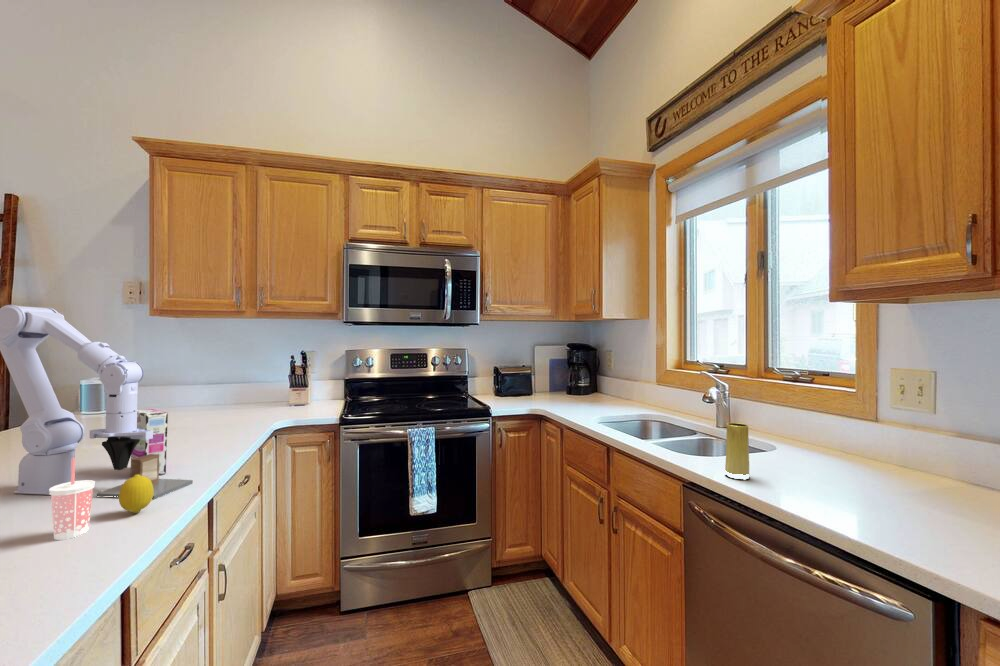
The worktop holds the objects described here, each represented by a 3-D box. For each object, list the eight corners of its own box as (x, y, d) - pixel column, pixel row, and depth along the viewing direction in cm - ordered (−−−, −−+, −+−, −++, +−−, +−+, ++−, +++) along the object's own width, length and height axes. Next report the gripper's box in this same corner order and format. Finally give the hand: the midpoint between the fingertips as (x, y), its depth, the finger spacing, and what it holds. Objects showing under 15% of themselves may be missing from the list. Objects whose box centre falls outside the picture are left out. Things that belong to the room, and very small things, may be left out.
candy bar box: (167, 473, 116) (168, 412, 117) (144, 478, 112) (145, 414, 113) (152, 466, 123) (153, 407, 123) (129, 470, 119) (131, 410, 119)
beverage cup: (91, 524, 85) (92, 451, 85) (97, 533, 81) (98, 457, 81) (46, 535, 80) (47, 458, 80) (50, 545, 76) (51, 464, 77)
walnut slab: (130, 489, 102) (131, 459, 102) (149, 482, 107) (149, 454, 107) (140, 490, 102) (140, 460, 102) (158, 483, 107) (159, 454, 107)
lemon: (133, 520, 87) (134, 479, 87) (111, 517, 88) (112, 477, 88) (160, 509, 93) (160, 471, 93) (138, 507, 94) (139, 469, 94)
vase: (721, 473, 123) (721, 421, 123) (744, 474, 122) (744, 422, 122) (729, 479, 117) (729, 426, 117) (754, 481, 116) (754, 427, 116)
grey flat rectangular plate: (96, 496, 99) (96, 493, 99) (140, 481, 110) (140, 478, 110) (154, 499, 98) (154, 495, 98) (192, 483, 109) (192, 480, 109)
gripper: (76, 414, 102) (75, 472, 101) (134, 415, 100) (133, 475, 100) (106, 409, 109) (105, 464, 109) (160, 410, 108) (159, 466, 107)
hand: (120, 468), depth 105 cm, fingers closed
